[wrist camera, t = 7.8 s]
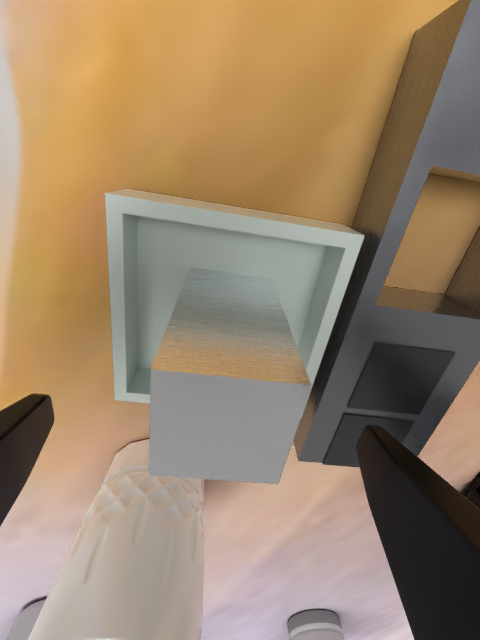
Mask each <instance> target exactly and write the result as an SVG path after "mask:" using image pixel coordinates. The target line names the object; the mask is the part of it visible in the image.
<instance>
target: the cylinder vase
mask: <svg viewBox="0 0 480 640" xmlns="http://www.w3.org/2000/svg"><path fill="white" fill-rule="evenodd" d="M45 601H46V599H44V600H41V601H38V602H36V603H34V604H32V605H30V606H28V607H27V608H26V609H24V610H23V611H22V612H21V613H20V615H19V616H18V617H17V619H16V621H15V623H14V625H13V627H12V629H11V632H10V634H9V636H8V638H7V640H28V638H29V635H30V633H31V631H32V629H33V627H34V625H35V622H36V620H37V618H38V616H39V614H40V612H41V609H42V607H43V605H44V603H45Z"/></svg>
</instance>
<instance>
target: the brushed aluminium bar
mask: <svg viewBox="0 0 480 640" xmlns="http://www.w3.org/2000/svg"><path fill="white" fill-rule="evenodd" d="M311 386H312V385H311V383H310V380H309V377H308V375H307V372H306V369H305V366H304V364H303V361H302V358H301V356H300V353H299V350H298V348H297V345H296V342H295V340H294V337H293V334H292V332H291V329H290V326H289V324H288V321H287V318H286V315H285V313H284V310H283V307H282V305H281V302H280V299H279V297H278V294H277V291H276V289H275V286H274V283H273V281H272V278H265V277H258V276H251V275H244V274H236V273H229V272H222V271H214V270H207V269H200V268H193V267H190V269H189V272H188V274H187V277H186V280H185V282H184V285H183V287H182V290H181V292H180V295H179V298H178V300H177V303H176V305H175V308H174V310H173V313H172V315H171V318H170V321H169V323H168V326H167V328H166V331H165V333H164V336H163V339H162V341H161V344H160V346H159V349H158V351H157V354H156V357H155V359H154V362H153V364H152V367H151V379H150V436H149V475H150V476H165V477H180V478H195V479H209V480H224V481H239V482H254V483H269V484H278V483H279V480H280V477H281V474H282V471H283V469H284V466H285V463H286V460H287V457H288V454H289V451H290V448H291V445H292V442H293V439H294V436H295V433H296V430H297V427H298V424H299V421H300V418H301V415H302V412H303V409H304V407H305V404H306V401H307V398H308V395H309V392H310V389H311Z"/></svg>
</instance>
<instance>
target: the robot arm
mask: <svg viewBox="0 0 480 640" xmlns="http://www.w3.org/2000/svg"><path fill="white" fill-rule="evenodd" d="M53 423H54V412H53V406H52V401H51V397H50V396H49V395H46V394H31V395H28V396H27V397H25V398H23V399H21V400H19V401H18V402H16V403H14V404H12V405H10V406H8V407H7V408H5V409H3V410H1V411H0V526H1V524H2V523H3V521H4V519H5V517H6V516H7V514H8V512H9V511H10V509H11V507H12V506H13V504H14V502H15V501H16V499H17V497H18V495H19V494H20V492H21V490H22V489H23V487H24V485H25V483H26V481H27V479H28V477H29V475H30V473H31V471H32V469H33V467H34V465H35V463H36V460H37V458H38V456H39V454H40V452H41V450H42V448H43V445H44V443H45V441H46V439H47V437H48V435H49V432H50V430H51V428H52V426H53ZM356 453H357V457H358V461H359V465H360V470H361V474H362V478H363V482H364V487H365V491H366V495H367V499H368V503H369V506H370V509H371V512H372V515H373V518H374V521H375V524H376V527H377V530H378V533H379V536H380V539H381V542H382V545H383V548H384V551H385V554H386V557H387V560H388V563H389V566H390V569H391V571H392V574H393V577H394V580H395V583H396V586H397V589H398V592H399V595H400V598H401V601H402V604H403V607H404V610H405V613H406V616H407V619H408V622H409V625H410V628H411V631H412V634H413V637H414V640H480V476H479V477H478V479H477V480H476V481H475V482H474V483H473V485H472V486H471V487H470V488H469V489H468V491H467V492H466V493H465V494H464V495H462V494H461V493H460V492H458V491H457V490H456V489H455V488H454V487H453V486H451V485H450V484H449V483H448V482H447V481H445V480H444V479H443V478H442V477H441V476H439V475H438V474H437V473H436V472H435V471H434V470H432V469H431V468H430V467H429V466H428V465H426V464H425V463H424V462H423V461H422V460H420V459H419V458H418V457H417V456H416V455H415V454H413V453H412V452H411V451H410V450H409V449H407V448H406V447H405V446H404V445H403V444H402V443H400V442H399V441H398V440H397V439H396V438H394V437H393V436H392V435H391V434H390V433H388V432H387V431H386V430H385V429H384V428H382V427H381V426H379V425H369V424H368V425H366V426H364V428H363V430H362V432H361V434H360V436H359V438H358V440H357V443H356Z"/></svg>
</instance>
